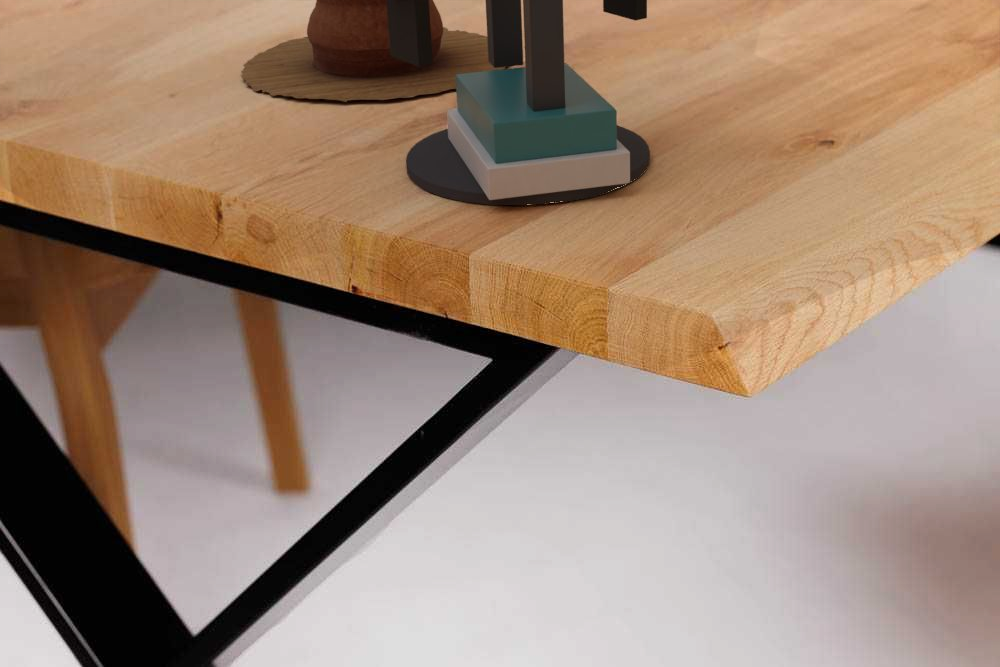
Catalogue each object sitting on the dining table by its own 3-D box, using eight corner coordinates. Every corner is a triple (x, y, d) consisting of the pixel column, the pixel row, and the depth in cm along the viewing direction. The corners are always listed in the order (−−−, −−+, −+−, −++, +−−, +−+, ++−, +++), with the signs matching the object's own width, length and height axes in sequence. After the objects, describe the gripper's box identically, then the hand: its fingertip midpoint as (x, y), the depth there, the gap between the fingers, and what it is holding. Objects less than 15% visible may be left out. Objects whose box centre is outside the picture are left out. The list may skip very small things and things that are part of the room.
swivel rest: (359, 164, 76) (358, 153, 76) (539, 111, 83) (539, 101, 83) (512, 226, 67) (512, 214, 67) (700, 161, 74) (700, 149, 74)
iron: (630, 183, 70) (629, -63, 65) (489, 200, 68) (476, -49, 63) (558, 107, 81) (552, -106, 76) (436, 121, 80) (422, -95, 75)
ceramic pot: (478, 108, 84) (472, -14, 81) (195, 100, 88) (179, -16, 85) (539, 31, 100) (535, -73, 97) (297, 28, 104) (286, -73, 101)
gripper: (666, -449, 72) (663, -14, 81) (209, -443, 60) (268, 66, 69) (772, -461, 66) (756, 8, 75) (291, -457, 54) (343, 100, 63)
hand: (522, 37), depth 72 cm, fingers open, 12 cm apart
